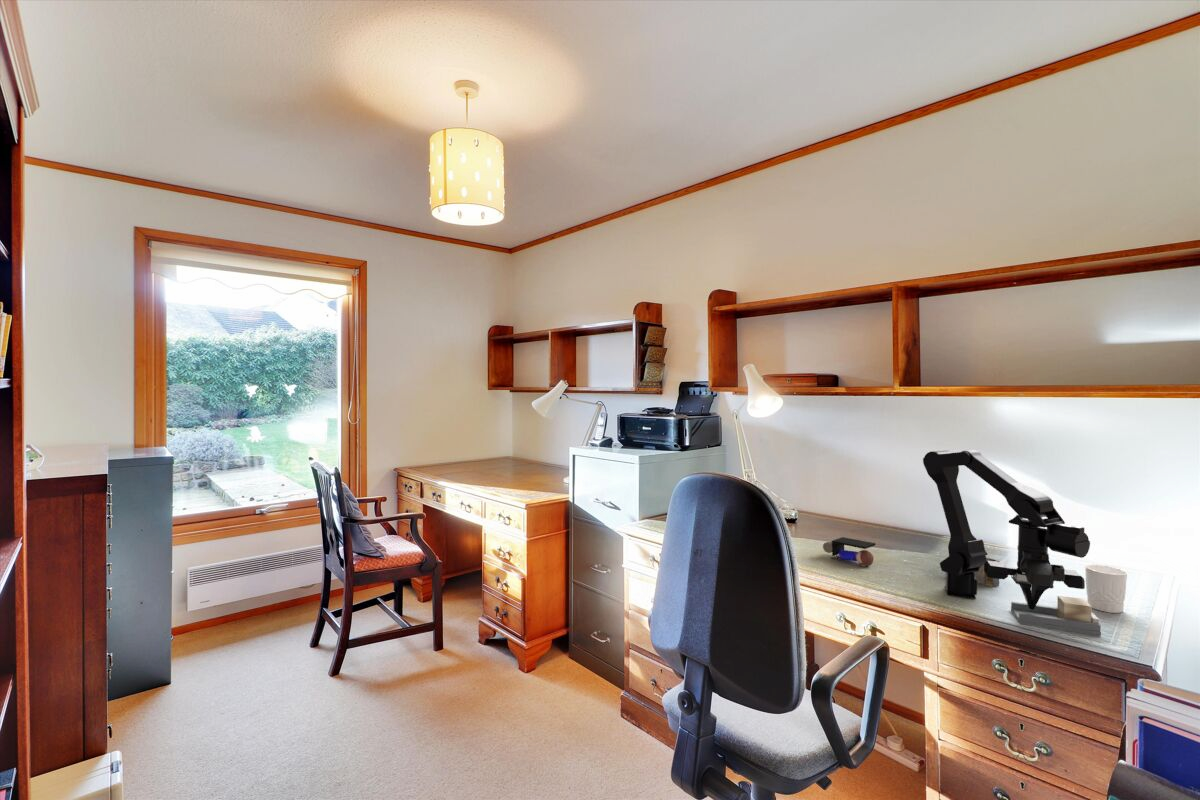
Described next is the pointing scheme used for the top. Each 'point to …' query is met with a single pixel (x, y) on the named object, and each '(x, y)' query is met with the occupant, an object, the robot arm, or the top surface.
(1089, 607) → the birch block
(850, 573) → the top surface
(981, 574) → the brown piece
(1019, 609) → the chute
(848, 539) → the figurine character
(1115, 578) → the white cup
